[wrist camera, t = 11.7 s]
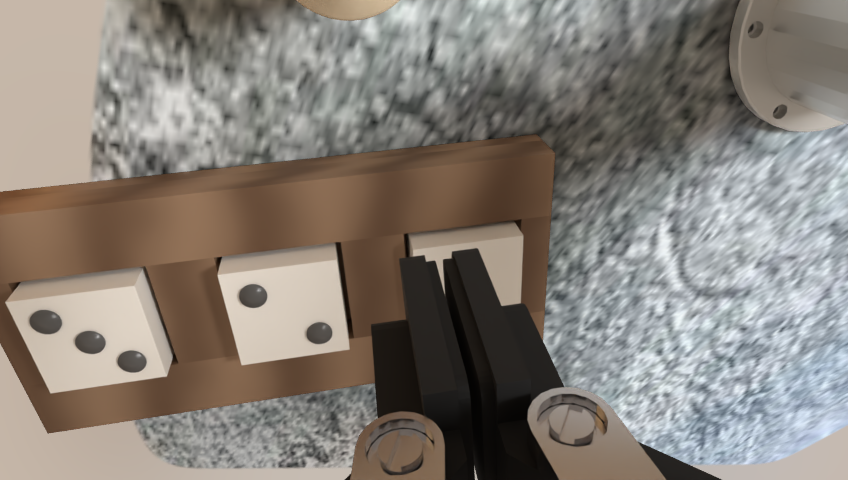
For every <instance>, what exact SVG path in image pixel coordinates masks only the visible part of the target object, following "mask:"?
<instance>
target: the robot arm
mask: <svg viewBox="0 0 848 480" xmlns="http://www.w3.org/2000/svg"><path fill="white" fill-rule="evenodd" d="M729 62H730V71H731V77H732V80H733V83H734V86H735V89H736V92H737V94H738V95H739V97H740V98H741V100H742V102H743V103H744V105H745V106H746V107H747V108H748V109H749V110H750V111H751V112H752V113H753V114H754V115H756V116H757V117H758V118H760V119H762V120H764V121H766V122H768V123H770V124H771V125H773V126H776V127H779V128H782V129H785V130H788V131H796V132H813V131H822V130H826V129H830V128H833V127H836V126H840V125H843V124H848V0H740V2H739V5H738V7H737V10H736V13H735V17H734V21H733V25H732V30H731V34H730V46H729ZM451 257H452V258H450V259H443V273H444V287H445V294H444V290H443V286H442V283H441V279H440V275H439V272H438V268H437V264H436V261H427V262H426V259H425V255H421V256H413V257H406V258H399V264H400V272H401V281H402V290H403V298H404V307H405V315H406V319H405V320H398V321H390V322H383V323H376V324H371V335H372V348H373V361H374V375H375V388H376V401H377V415H378V418H377V419H376V420H374V421H373V422H372V423H370V424H369V425H367V426H366V428H365V429H364V430H363V431H362V433H361V434H360V435H359V438H358V441H357V443H356V446H355V452H354V458H353V465H352V472H351V474H350V475H349V476H348V477H347V478H346V479H345V480H475V475H474V466H475V470H476V474H477V478H478V480H721V479H719V478H717V477H714V476H712V475H710V474H708V473H706V472H704V471H701V470H699V469H697V468H695V467H693V466H690V465H688V464H686V463H684V462H682V461H679V460H677V459H675V458H673V457H671V456H668V455H666V454H664V453H662V452H659V451H657V450H655V449H653V448H651V447H648V446H646V445H644V444H642V443H640V442H637V440H636V439H635V438H634V437H633V435H632V434H631V433H630V431H629V430H628V429H627V427H626V426H625V425H624V423H623V422H622V421H621V420H620V418H619V417H618V416H617V414H616V413H615V412H614V410H613V409H612V408H611V407H610V406H609V405H608V404H607V403H606V402H605V401H604V400H603V399H602V398H600V397H598V396H597V395H595V394H593V393H592V392H589V391H586V390H582V389H579V388H570V387H564V385H563V383H562V381H561V379H560V377H559V375H558V372H557V370H556V368H555V366H554V364H553V362H552V360H551V357H550V355H549V353H548V351H547V349H546V347H545V345H544V343H543V340H542V338H541V336H540V334H539V332H538V330H537V328H536V325H535V323H534V321H533V319H532V317H531V315H530V313H529V310H528V308H527V307H526V305H525V304H524V303H519V304H512V305H505V306H501V303H500V301H499V299H498V296H497V294H496V291H495V289H494V286H493V284H492V281H491V279H490V276H489V274H488V271H487V269H486V266H485V264H484V262H483V259H482V257H481V254H480V252H479V250H478V248H474V249H466V250H458V251H452V256H451Z"/></svg>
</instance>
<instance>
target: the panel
mask: <svg viewBox="0 0 848 480" xmlns="http://www.w3.org/2000/svg"><path fill="white" fill-rule="evenodd" d="M554 164H555V152H554V151H553V150H552V149H551V148H550V147H549V146H548V145H547V144H546V143H545V142H544V141H543V140H542V139H541V138H540V137H539V136H538V135H537V134H534V135H525V136H516V137H507V138H497V139H488V140H479V141H469V142H460V143H451V144H441V145H432V146H423V147H413V148H404V149H395V150H385V151H376V152H367V153H357V154H348V155H339V156H329V157H320V158H311V159H302V160H292V161H283V162H274V163H264V164H255V165H246V166H236V167H227V168H218V169H208V170H199V171H190V172H180V173H171V174H162V175H152V176H143V177H134V178H124V179H115V180H106V181H97V182H87V183H78V184H69V185H59V186H51V187H41V188H32V189H22V190H13V191H3V192H0V343H1V345H2V347H3V349H4V351H5V353H6V355H7V357H8V359H9V361H10V363H11V364H12V366H13V368H14V370H15V372H16V374H17V376H18V378H19V380H20V382H21V383H22V385H23V387H24V389H25V391H26V393H27V395H28V397H29V399H30V400H31V402H32V404H33V406H34V408H35V410H36V412H37V414H38V416H39V418H40V420H41V421H42V423H43V425H44V427H45V429H46V431H47V433H54V432H60V431H67V430H73V429H80V428H86V427H93V426H99V425H106V424H112V423H119V422H124V421H131V420H138V419H144V418H151V417H157V416H164V415H170V414H177V413H183V412H190V411H196V410H203V409H209V408H216V407H222V406H229V405H235V404H241V403H248V402H254V401H261V400H267V399H274V398H280V397H287V396H293V395H300V394H306V393H313V392H319V391H326V390H332V389H338V388H345V387H351V386H358V385H364V384H371V383H375V375H374V361H373V348H372V335H371V324H376V323H383V322H390V321H398V320H405V319H406V315H405V307H404V298H403V290H402V281H401V272H400V264H399V258H406V257H408V254H407V241H406V234H407V233H415V232H423V231H431V230H439V229H447V228H455V227H463V226H471V225H479V224H487V223H495V222H503V221H511V220H514V222H515V223H516V225H517V227H518V228H519V230H520V231H521V233H522V234H523V259H522V284H521V303H524V304H525V305H526V307H527V308H528V310H529V313H530V315H531V317H532V319H533V321H534V323H535V325H536V328H537V330H538V332H539V334H540V336H541V338H542V340H543V330H544V315H545V300H546V285H547V269H548V254H549V239H550V224H551V209H552V194H553V179H554ZM335 242H336V245H337V252H338V259H339V266H340V273H341V280H342V287H343V294H344V301H345V308H346V315H347V324H348V335H349V347H350V350H343V351H336V352H329V353H322V354H316V355H309V356H302V357H295V358H288V359H282V360H275V361H268V362H261V363H254V364H248V365H241V361H240V357H239V354H238V350H237V346H236V342H235V339H234V335H233V331H232V328H231V324H230V320H229V316H228V313H227V309H226V305H225V302H224V298H223V294H222V290H221V287H220V283H219V279H218V276H217V275H218V271H219V267H220V263H221V259H222V257H223V256H231V255H239V254H247V253H255V252H263V251H271V250H279V249H287V248H295V247H303V246H311V245H319V244H327V243H335ZM143 266H146V269H147V272H148V275H149V278H150V281H151V284H152V287H153V290H154V293H155V296H156V299H157V302H158V305H159V308H160V311H161V313H162V316H163V319H164V322H165V325H166V328H167V331H168V334H169V337H170V340H171V343H172V346H173V349H174V355H173V358H172V362H171V365H170V368H169V371H168V375H167V376H166V377H159V378H153V379H146V380H139V381H132V382H125V383H119V384H112V385H105V386H98V387H91V388H85V389H78V390H71V391H64V392H57V393H50V391H49V389H48V387H47V385H46V383H45V381H44V379H43V377H42V375H41V373H40V371H39V369H38V367H37V365H36V363H35V361H34V359H33V357H32V355H31V353H30V351H29V349H28V347H27V345H26V343H25V341H24V339H23V337H22V335H21V333H20V331H19V329H18V327H17V325H16V323H15V321H14V319H13V317H12V315H11V313H10V311H9V309H8V307H7V305H6V303H5V302H6V301H7V299H8V298H9V297H10V295H11V294H12V293H13V292H14V290H15V289H16V288H17V286H18V285H19V284H20V283H21V282H23V281H31V280H39V279H47V278H55V277H63V276H71V275H79V274H87V273H95V272H103V271H111V270H119V269H127V268H135V267H143Z"/></svg>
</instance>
